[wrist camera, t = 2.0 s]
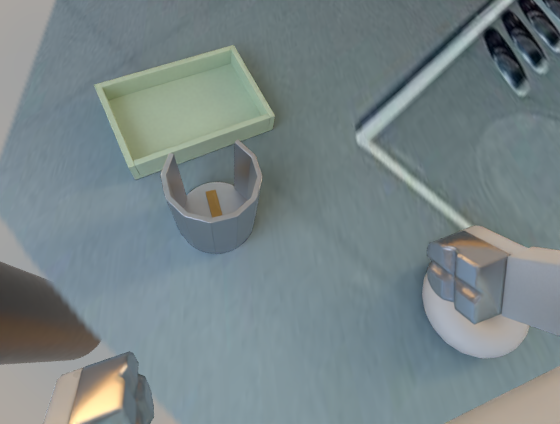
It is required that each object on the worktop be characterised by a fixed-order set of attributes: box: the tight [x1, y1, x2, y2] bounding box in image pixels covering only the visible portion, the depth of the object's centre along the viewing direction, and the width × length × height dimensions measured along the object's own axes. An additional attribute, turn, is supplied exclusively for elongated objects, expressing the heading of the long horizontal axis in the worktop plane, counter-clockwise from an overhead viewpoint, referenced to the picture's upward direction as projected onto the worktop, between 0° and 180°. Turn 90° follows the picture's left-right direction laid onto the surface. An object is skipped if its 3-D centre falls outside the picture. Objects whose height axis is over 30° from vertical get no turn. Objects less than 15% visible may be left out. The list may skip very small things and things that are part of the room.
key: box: [206, 190, 222, 218], centre depth 34 cm, size 5×2×1 cm, turn 17°
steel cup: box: [160, 140, 262, 254], centre depth 30 cm, size 7×7×9 cm
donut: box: [422, 273, 529, 359], centre depth 33 cm, size 10×4×10 cm
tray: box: [94, 45, 275, 180], centre depth 37 cm, size 15×10×2 cm
